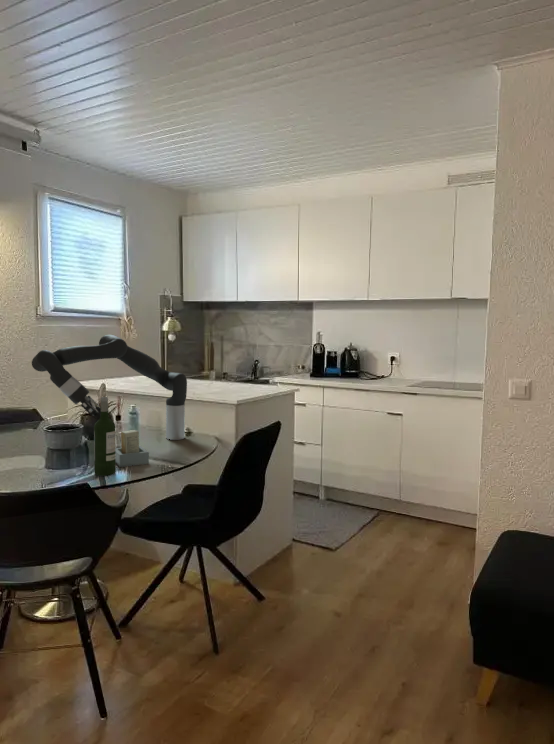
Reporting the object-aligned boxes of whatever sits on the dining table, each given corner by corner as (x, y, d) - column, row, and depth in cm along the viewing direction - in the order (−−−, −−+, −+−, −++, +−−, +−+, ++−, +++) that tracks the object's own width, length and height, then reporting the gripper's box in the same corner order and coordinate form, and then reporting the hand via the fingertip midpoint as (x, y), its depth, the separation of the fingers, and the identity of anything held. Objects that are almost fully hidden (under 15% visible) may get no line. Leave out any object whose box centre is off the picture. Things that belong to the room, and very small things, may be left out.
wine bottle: (114, 475, 208) (113, 398, 205) (92, 476, 206) (91, 399, 203) (116, 470, 215) (116, 395, 212) (96, 470, 214) (95, 395, 211)
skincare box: (134, 457, 231) (134, 429, 230) (139, 459, 228) (139, 431, 226) (120, 459, 227) (120, 431, 225) (125, 462, 224) (125, 433, 222)
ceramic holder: (113, 459, 230) (112, 448, 229) (141, 456, 236) (141, 445, 235) (119, 467, 220) (119, 455, 219) (148, 463, 225) (148, 452, 225)
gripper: (79, 386, 212) (109, 415, 216) (83, 381, 226) (111, 408, 230) (64, 399, 212) (95, 428, 216) (69, 393, 225) (98, 420, 229)
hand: (103, 417), depth 223 cm, fingers open, 8 cm apart
